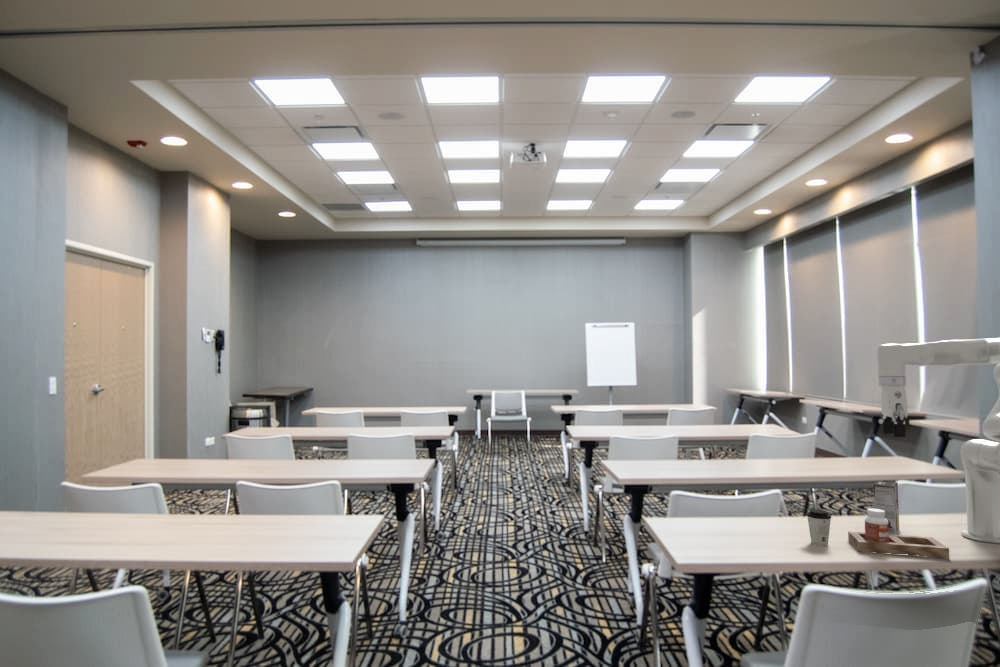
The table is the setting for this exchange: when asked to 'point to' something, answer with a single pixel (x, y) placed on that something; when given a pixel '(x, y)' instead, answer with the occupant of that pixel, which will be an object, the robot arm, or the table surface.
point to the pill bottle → (876, 526)
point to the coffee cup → (819, 526)
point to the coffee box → (888, 503)
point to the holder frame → (900, 545)
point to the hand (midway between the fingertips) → (894, 435)
